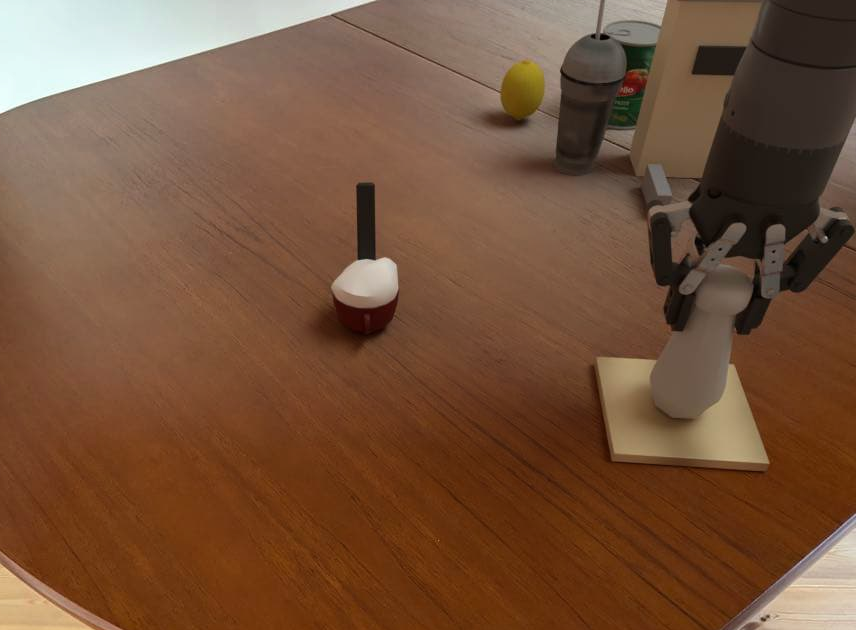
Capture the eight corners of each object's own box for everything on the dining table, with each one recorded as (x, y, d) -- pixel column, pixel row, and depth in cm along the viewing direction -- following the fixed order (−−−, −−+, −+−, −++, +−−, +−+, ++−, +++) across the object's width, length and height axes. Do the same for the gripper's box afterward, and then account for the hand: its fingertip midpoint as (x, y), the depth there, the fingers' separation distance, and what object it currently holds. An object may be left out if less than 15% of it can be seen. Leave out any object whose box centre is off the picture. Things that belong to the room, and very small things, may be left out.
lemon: (491, 125, 112) (499, 64, 107) (503, 107, 116) (512, 48, 111) (533, 132, 111) (543, 71, 105) (544, 115, 114) (554, 54, 109)
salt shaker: (727, 401, 72) (782, 273, 63) (696, 437, 69) (748, 309, 60) (663, 370, 75) (706, 244, 66) (630, 404, 72) (671, 277, 63)
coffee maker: (733, 156, 105) (803, -48, 89) (766, 223, 94) (852, 4, 78) (624, 153, 106) (673, -49, 90) (644, 218, 95) (704, 2, 79)
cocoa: (379, 355, 79) (384, 245, 71) (317, 339, 81) (315, 230, 73) (413, 298, 86) (420, 191, 77) (355, 284, 88) (356, 178, 79)
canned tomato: (645, 104, 116) (666, 20, 108) (651, 131, 110) (674, 45, 103) (584, 101, 117) (601, 18, 109) (587, 127, 111) (605, 42, 104)
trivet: (730, 372, 77) (734, 363, 76) (766, 471, 68) (770, 463, 68) (593, 364, 78) (595, 356, 77) (611, 461, 69) (614, 453, 69)
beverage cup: (555, 183, 101) (589, 7, 87) (535, 154, 106) (563, -17, 93) (614, 177, 102) (657, 1, 88) (591, 149, 107) (627, -22, 93)
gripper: (681, 141, 53) (619, 353, 65) (928, 148, 51) (818, 363, 63) (660, 89, 58) (606, 293, 70) (882, 94, 57) (789, 302, 69)
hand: (707, 326), depth 67 cm, fingers closed on salt shaker, 4 cm apart
